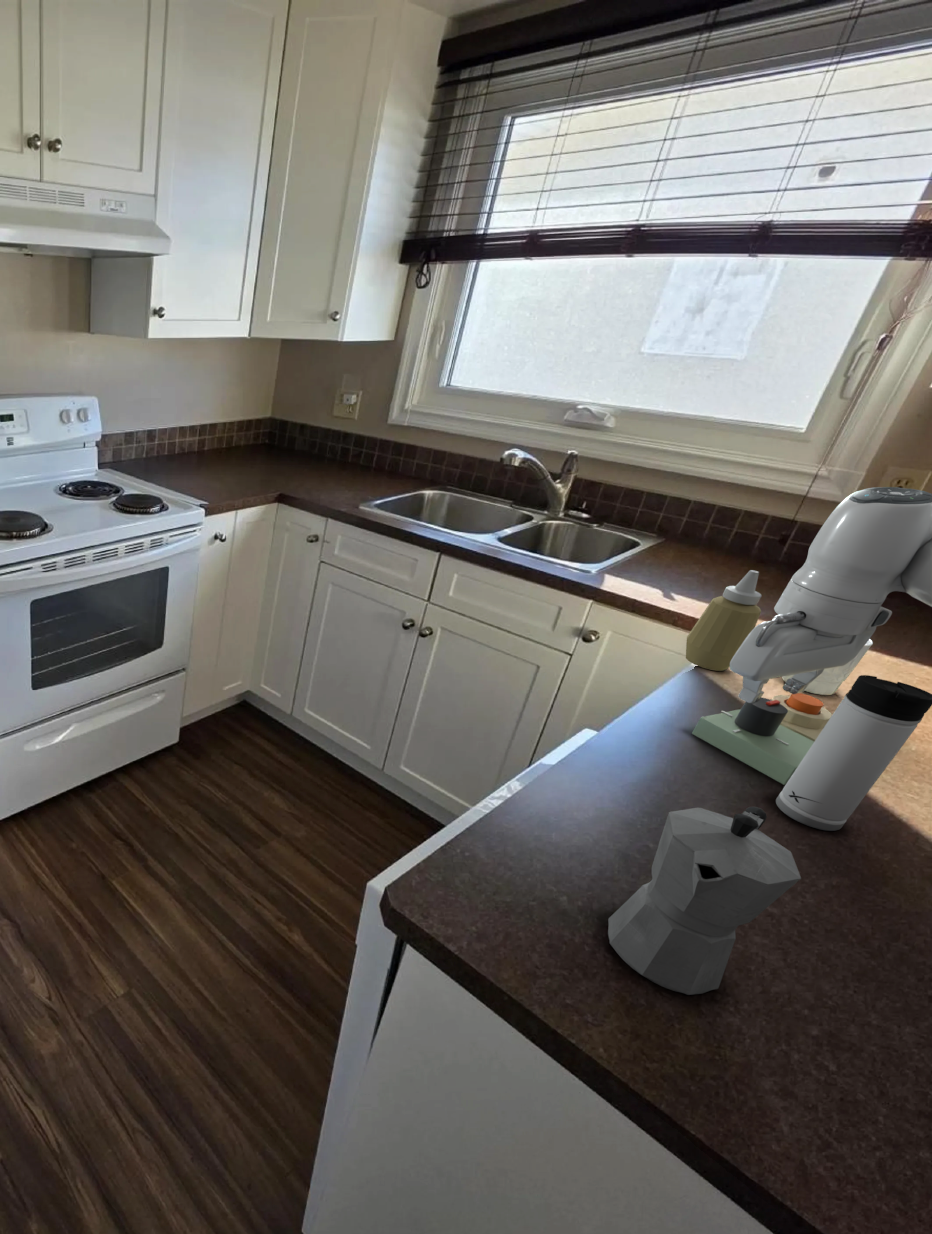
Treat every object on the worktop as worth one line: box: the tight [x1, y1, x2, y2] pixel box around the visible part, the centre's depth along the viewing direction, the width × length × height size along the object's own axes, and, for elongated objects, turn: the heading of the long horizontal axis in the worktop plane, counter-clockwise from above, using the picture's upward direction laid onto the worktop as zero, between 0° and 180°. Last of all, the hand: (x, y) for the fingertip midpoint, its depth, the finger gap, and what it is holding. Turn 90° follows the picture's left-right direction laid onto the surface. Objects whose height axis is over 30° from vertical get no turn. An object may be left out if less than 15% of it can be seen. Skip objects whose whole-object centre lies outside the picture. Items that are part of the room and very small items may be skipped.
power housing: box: [769, 694, 833, 742], centre depth 102 cm, size 11×9×4 cm
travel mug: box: [775, 674, 932, 832], centre depth 82 cm, size 6×7×20 cm
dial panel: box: [691, 708, 814, 786], centre depth 97 cm, size 12×10×3 cm
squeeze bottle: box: [685, 569, 762, 672], centre depth 117 cm, size 8×8×18 cm
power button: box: [786, 693, 825, 715], centre depth 102 cm, size 4×4×2 cm
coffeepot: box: [607, 806, 802, 996], centre depth 64 cm, size 15×9×18 cm, turn 125°
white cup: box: [781, 638, 874, 696], centre depth 114 cm, size 8×8×10 cm
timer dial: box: [735, 696, 788, 736], centre depth 97 cm, size 4×4×4 cm
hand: (769, 695), depth 96 cm, fingers open, 8 cm apart
